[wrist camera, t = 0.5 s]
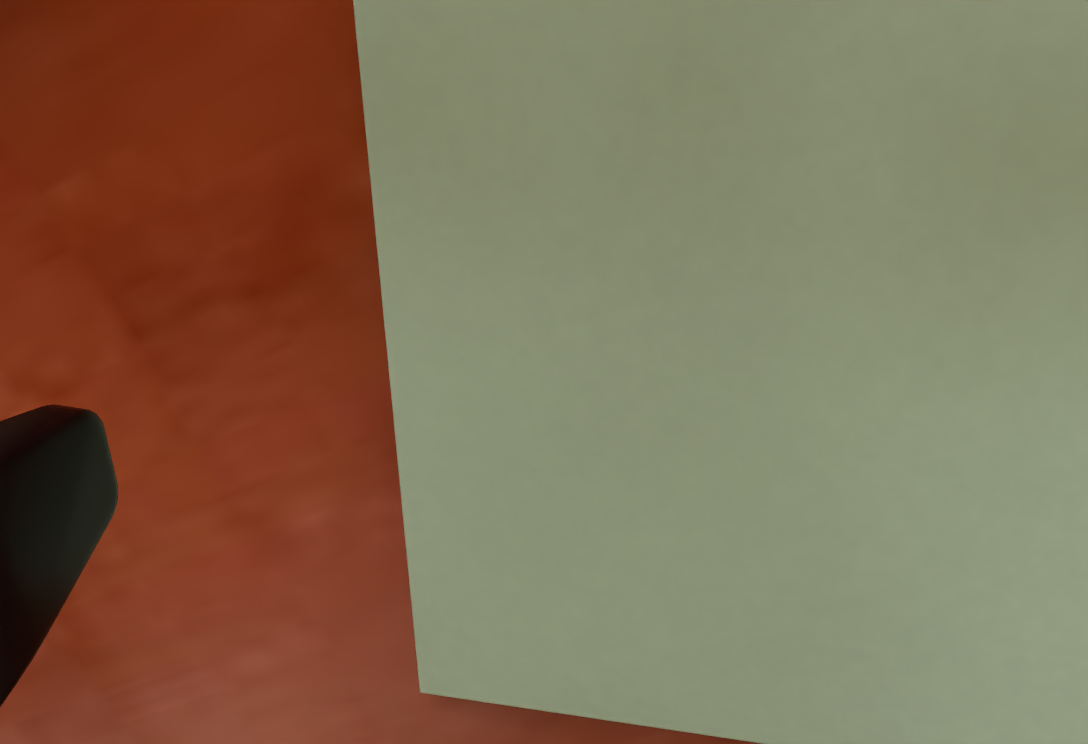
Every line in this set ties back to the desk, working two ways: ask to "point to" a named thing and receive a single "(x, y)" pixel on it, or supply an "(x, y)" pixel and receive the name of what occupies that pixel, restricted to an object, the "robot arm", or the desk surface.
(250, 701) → the desk surface
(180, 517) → the desk surface
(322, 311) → the desk surface
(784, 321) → the desk mat
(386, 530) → the desk surface
